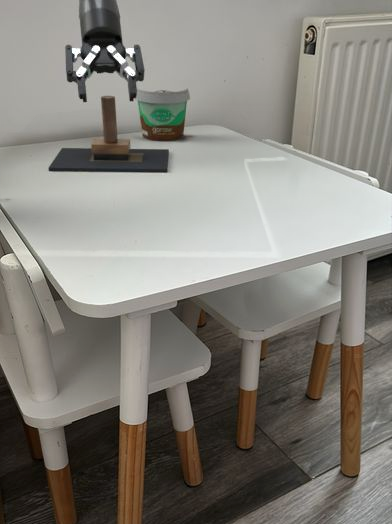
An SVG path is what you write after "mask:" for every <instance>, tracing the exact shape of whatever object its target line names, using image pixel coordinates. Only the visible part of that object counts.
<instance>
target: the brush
mask: <svg viewBox="0 0 392 524" xmlns="http://www.w3.org/2000/svg"><path fill="white" fill-rule="evenodd" d="M100 106H101V118H102V120H101V121H102V133H103V138H93V141H92V143H90V144H91V145H90V147H91V148H92V154H93V157H94V160H127V161H128V158H129V155H130V153H129V151H130V149H131V139H130V138H118V123H117V107H116V96H114V95H102V96H100Z"/></svg>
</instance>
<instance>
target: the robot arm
mask: <svg viewBox="0 0 392 524" xmlns="http://www.w3.org/2000/svg"><path fill="white" fill-rule="evenodd" d="M78 19H79V27H80V36H81V37H80V38H81V46H80V48H74V47H73V46H72V45H71V44H66V45H65V47H64V49H65V51H64V52H65V53H64V54H65V74H66V81H67V82H68V83H73V82H74V83H75V84H76V85H77V93H78V98H79V100H82V103H88V97H87V88H86V87H87V86H86V81H87V80H88V79H90V78H91V77H92V75H93V74H94V72H95V73H96V74H104V73H107V74H114V73H116V74H117V75H118V76H119V77H120V78H123V79H124V80H125V81H126V83H127V90H128V99H129V102H134V100H135V99H134V98H136V96H137V89H138V88H137V87H138V85H137V82H143V81H144V80H145V71H146V70H145V69H146V68H145V65H144V59H143V54H142V49H141V46H140V45H139V44H134V45H133V48H130V47H129V48H126V47H125V45H124V42H123V35H122V33H123V32H122V26H121V25H122V24H121V14H120V9H119V5H118V0H78ZM127 57H128V58H129V59H130V61H131V62H132V63H134V67H135V70H134V69H133V68H132V67H131V66H130V65H129V63H128V61H127V60H126V58H127ZM78 58H80V59H81V60H83V61H82V63H81V66H80V67H79V68H78V69H77V71H76V70H74V64H75V63H76V62H77V61H78Z"/></svg>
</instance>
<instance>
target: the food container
mask: <svg viewBox="0 0 392 524" xmlns="http://www.w3.org/2000/svg"><path fill="white" fill-rule="evenodd" d="M190 95H191V94H190V91H189V87H186V88H185V89H184V90H179V91H172V90H171V91H170V90H164V89H163V90H162V89H161V90H156V91H147V90H142V89H138V88H137V96H136V98H134V100H136V101H137V107H138V114H139V122H140V128H141V134H142V137H143V138H144V139H146V140H150V141H155V142H172V141H177V140H181V139H183V137H184V134H185V133H184V132H185V124H186V113H187V105H188V103H187V102H188V101H190V100H191V96H190Z"/></svg>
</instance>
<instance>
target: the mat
mask: <svg viewBox="0 0 392 524" xmlns="http://www.w3.org/2000/svg"><path fill="white" fill-rule="evenodd" d="M129 153H130V155H129V158H128V161H127V160H94V157H93V154H92V147H91V148H90V147H89V148H88V147H83V148H82V147H62V148H61V149H60V150H59V152H58V153H57V154H56V156H55V158H54V159H53V161H51V163H50V164H49V166H48V168H47V169H48V171H49V172H103V173H104V172H108V173H109V172H110V173H112V172H113V173H114V172H115V173H117V172H118V173H168V168H169V157H170V155H169V154H170V150H169V149H168V148H130V151H129Z"/></svg>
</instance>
